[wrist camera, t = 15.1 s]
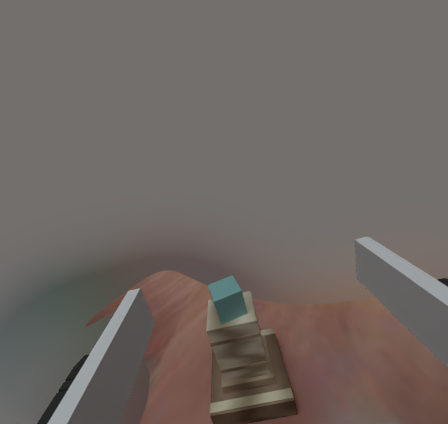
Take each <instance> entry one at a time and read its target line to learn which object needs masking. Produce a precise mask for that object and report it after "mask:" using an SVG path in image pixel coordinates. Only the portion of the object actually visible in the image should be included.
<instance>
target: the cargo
mask: <svg viewBox="0 0 448 424" xmlns="http://www.w3.org/2000/svg"><path fill="white" fill-rule="evenodd" d="M208 287H209V290H210V293H211V296H212V299H213V303H214V306H215V308H216V311H217V314H218V317H219V320H220V322H221V325H222V324H225V323H227V322H229V321H231V320H234V319H236V318H238V317H240V316H243V315H245V314H247V313H248V312H247V309H246V305H245V301H244V297H243V294H242V290H241V289H240V287H239V286H238V284H237V282H236V280H235V279H234V277H233V276H230V277H227V278H225V279H222V280H220V281H217V282H215V283H212V284H210V285H208Z"/></svg>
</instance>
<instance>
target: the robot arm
mask: <svg viewBox="0 0 448 424" xmlns="http://www.w3.org/2000/svg"><path fill="white" fill-rule="evenodd" d="M355 254H356V271H357V279H358V280H359V281H360V282H361V283H362V284H363V285H364V286H365V287H366V288H367V289H368V290H369V291H370V292H371V293H372V294H373V295H374V296H375V297H376V298H377V299H378V300H379V301H380V302H381V303H382V304H383V305H384V306H385V307H386V308H387V309H388V310H389V311H390V312H391V313H392V314H393V315H394V316H395V317H396V318H397V319H398V320H399V321H400V322H401V323H402V324H403V325H404V326H406V327H407V328H408V329H409V330H410V331H411V332H412V333H413V334H414V335H415V336H416V337H417V338H418V339H419V340H420V341H421V342H422V343H423V344H424V345H425V346H426V347H427V348H428V349H429V350H430V351H431V352H432V353H433V354H434V355H435V356H436V357H437V358H438V359H439V360H440V361H441V362H442V363H443V364H444V365H445V366H446V367H447V368H448V279H446V278H443V279H438V280H436V279H435V278H433V277H431V276H430V275H428V274H427V273H425V272H424V271H422V270H420V269H419V268H417V267H416V266H414V265H412V264H411V263H409V262H408V261H406V260H404V259H403V258H401V257H400V256H398V255H396V254H395V253H393V252H392V251H390V250H388V249H387V248H385V247H383V246H382V245H381V244H379V243H377V242H376V241H374V240H373V239H371V238H369V237H364V238H360V239H356V240H355ZM154 325H155V320H154V318H153V316H152V314H151V311H150V309H149V307H148V305H147V302H146V300H145V298H144V296H143V293H142V291H141V289H135V290H131V291H128V293H127V294H126V296H125V297H124V299H123V301H122V302H121V304H120V306H119V307H118V309H117V311H116V312H115V314H114V315H113V317H112V319H111V320H110V322H109V324H108V325H107V327H106V329H105V330H104V332H103V333H102V335H101V337H100V338H99V340H98V342H97V343H96V345H95V347H94V348H93V350H92V352H91V353H90V354H89V355H85V356H84V357H83V358H82V359H81V360H80V361H79V362H78V363H77V364H76V366H74V368H73V369H72V371H71V372H70V374H69V375H68V377H67V378H66V381H65V382H64V383H63V385H62V386H61V388H60V389H59V393H57V394H56V395H55V397H54V398H53V400H52V402H51V403H50V405H49V406H48V408H47V409H46V411H45V412H44V414H43V415H42V417H41V419H40V420H39V422H38V423H37V424H120V421H121V419H122V415H123V413H124V410H125V407H126V404H127V402H128V399H129V396H130V393H131V390H132V387H133V385H134V382H135V379H136V376H137V373H138V370H139V368H140V365H141V362H142V359H143V356H144V354H145V351H146V348H147V345H148V342H149V339H150V337H151V334H152V331H153V328H154Z"/></svg>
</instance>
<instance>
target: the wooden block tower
mask: <svg viewBox="0 0 448 424" xmlns="http://www.w3.org/2000/svg"><path fill="white" fill-rule="evenodd" d="M242 294H243V297H244V301H245V305H246V309H247V312H248V313H247V314H245V315H243V316H240V317H238V318H236V319H234V320H231V321H229V322H227V323H225V324H222V325H221V322H220V320H219V317H218V314H217V311H216V308H215V306H214V303H213V299H212V300H208V315H207V330H206V332H207V334H208V337H209V340H210V344H211V347H212V348H213V351H214V354H215V357H216V360H217V363H218V365H219V368H220V372H221V376H222V390H223V393H224V394H227V393H232V392H237V391H242V390H247V389H252V388H258V387H263V386H268V385H273V384H276V382H275V378H274V374H273V369H272V365H271V361H270V357H269V353H268V348H267V344H266V340H265V336H262V335H261V331H260V327H259V324H258V320H257V316H256V311H255V307H254V302H253V300H252V296H251V292H250V291H248V292H244V293H242Z"/></svg>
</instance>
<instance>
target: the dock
mask: <svg viewBox="0 0 448 424" xmlns="http://www.w3.org/2000/svg"><path fill="white" fill-rule="evenodd" d="M261 335H262V336H265V340H266V344H267V348H268V353H269V357H270V361H271V365H272V369H273V374H274V378H275V382H276V384H273V385H268V386H263V387H258V388H252V389H247V390H242V391H237V392H232V393H227V394H224V393H223V390H222V376H221V372H220V368H219V365H218V363H217V360H216V357H215V354H214V351H212V383H211V403H210V416H211V419H212V421H213V424H247V423H252V422H257V421H263V420H268V419H273V418H279V417H284V416H290V415H295V414H297V410H296V405H295V400H294V397H293V393H292V390H291V387H290V383H289V380H288V377H287V373H286V370H285V366H284V363H283V360H282V356H281V353H280V349H279V346H278V343H277V339H276V336H275V332H274V329H273V328H270V329H266V330H261Z"/></svg>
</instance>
